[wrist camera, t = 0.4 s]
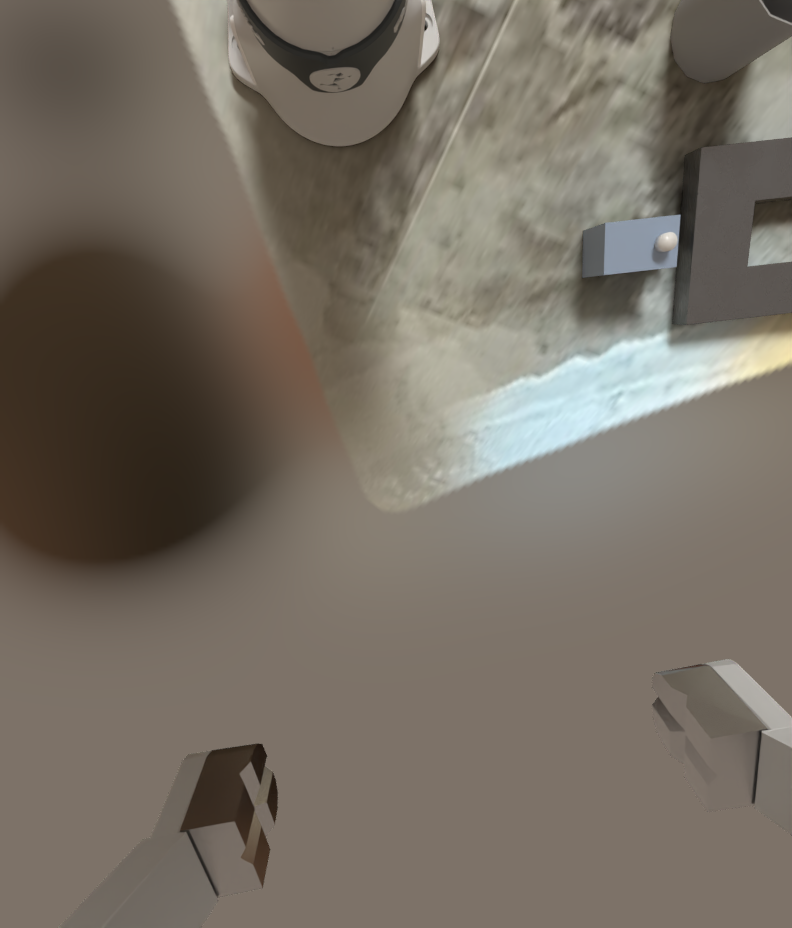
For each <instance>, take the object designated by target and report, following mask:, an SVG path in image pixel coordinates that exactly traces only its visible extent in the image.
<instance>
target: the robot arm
mask: <svg viewBox="0 0 792 928" xmlns="http://www.w3.org/2000/svg"><path fill="white" fill-rule="evenodd" d="M425 26H426V27H427V30H426V31H424V27H425ZM239 49H240V50H239ZM438 51H439V33H438V28H437V24H436V19H435V15H434V10H433V6H432V2H431V0H228V57H229V64H230V67H231V69H232V72H233V74H234V75H235V76H236V78H237V79H238V80H240V81H241V82H242V83H244V84H245V85H247V86H248V87H250V88H252V89H253V90H255V91H257V92H258V93H260V94H261V95H262V96H263V97H264V98H265V99H266V100H267V101H268V102H269V103H270V105H271V106H272V107H273V109H274V110H275V111H276V113H277V114H278V115H279V116H280V118H281V119H282V120H283V121H284V122H285V123H286V124H287V125H288V126H289V127H291V128H292V129H293V130H294V131H296V132H297V133H299V134H300V135H302V136H303V137H305V138H307V139H309V140H311V141H314V142H317V143H320V144H324V145H329V146H349V145H354V144H358V143H361V142H363V141H366V140H368V139H370V138H372V137H373V136H375V135H377V134H378V133H379V132H381V131H382V130H383V129H384V128H385V127H387V125H388V124H389V123H390V122H391V121H392V120H393V119H394V118H395V116H396V115H397V113H398V112H399V110H400V109H401V107H402V105H403V103H404V101H405V99H406V97H407V95H408V93H409V90H410V88H411V86H412V84H413V82H414V80H415V79H416V77H417V76H418V75H419V74H420V73H421V72H422V71H423V70H424V69H426V68H427V67H428V66H429V64H430V63H431V62H432V61H433V60H434V59H435V57H436V56H437V53H438ZM652 688H653V689H654V691H655V693H656V694H657V695H658V698H657V699H656V700H655V702H654V703H653V704H652V713H653V720H654V724H655V727H656V731H657V733H658V736H659V738H660V740H661V741H662V744H663V745H664V747H665V749H666V750H667V752H668V753H669V755H670V756H671V757H673V758H674V759H676V760H678V761H679V762H681V763H682V764H684V778H685V780H686V781H687V783H688V784H689V785H690V787H691V788H692V790H693V792H694V793H695V795H696V796H697V798H698V799H699V801H700V802H701V804H702V805H703V807H704V808H705V810H706V811H707V812H711V811H718V810H726V809H733V808H740V807H746V806H754V805H755V807H754V808H755V809H756V810H757V811H759V812H760V813H762V814H763V815H764V816H766V817H767V818H768V819H770V820H771V821H773V822H774V823H775V824H777V825H778V826H779V827H781V828H782V829H784V830H785V831H786V832H788V833H789V834H790V835H792V717H791V716H790V715H789V714H788V713H787V712H786V711H785V710H784V709H783V708H782V707H781V706H780V705H779V704H778V703H777V702H776V701H775V700H774V699H773V698H772V697H771V696H770V695H769V694H767V692H766V691H764V689H762V687H760V686H759V685H758V684H757V683H756V682H755V681H754V680H753V679H752V678H751V677H750V676H749V675H748V674H747V673H746V672H745V671H744V670H743V669H742V668H741V667H740V666H739V665H738V664H737V663H736V662H734V661H732V660H730V659H727V660H721V661H716V662H710V663H705V664H698V665H693V666H688V667H682V668H677V669H672V670H666V671H661V672H656V673H654V675H653V677H652ZM266 758H267V754H266V752H265V749H264V747H263V744H251V745H244V746H238V747H231V748H224V749H217V750H212V751H206V752H200V753H193V754H188V755H187V756H186V758H185V759H184V760H183V761H182V762H181V765H180V767H179V769H178V772H177V774H176V777H175V779H174V781H173V784H172V786H171V789H170V791H169V793H168V796H167V799H166V801H165V803H164V805H163V808H162V810H161V812H160V815H159V817H158V820H157V822H156V824H155V827H154V829H153V832H152V834H151V836H150V838H146V839H142V840H141V841H140V843H138V844H137V845H136V847H134V849H133V850H132V851H131V852H130V853H129V854H128V855H127V856H126V857H125V858H124V859H123V860H122V861H121V862H120V863H119V864H118V865H117V866H116V867H115V868H114V870H113V871H112V872H111V873H110V874H109V875H108V876H107V877H106V878H105V879H104V880H103V881H102V882H101V883H100V884H99V885H98V887H96V888H95V889H94V891H93V892H92V893H91V894H90V895H89V896H88V897H87V898H86V899H85V900H84V901H83V902H82V903H81V904H80V905H79V906H78V908H76V910H75V911H74V912H73V913H72V914H71V915H70V916H69V917H68V918H67V919H66V920H65V921H64V922H63V923H62V924H61V925H60V926H59V927H58V928H201V927H202V925H203V924H204V923H205V921H206V920H207V918H208V916H209V915H210V913H211V912H212V910H213V909H214V907H215V905H216V904H217V902H218V897H223V896H228V895H233V894H238V893H243V892H248V891H252V890H257V889H262V888H263V885H264V879H265V874H266V869H267V864H268V858H269V853H270V847H269V844H268V842H267V839H266V836H267V835H268V833H269V832H270V831H271V829H272V828H273V827H274V825H275V820H276V815H277V809H278V806H277V805H278V790H277V785H276V779H275V776H274V773H273V771H271V770H270V769H268V768H267V767H265V763H266Z"/></svg>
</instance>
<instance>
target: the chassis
mask: <svg viewBox="0 0 792 928" xmlns="http://www.w3.org/2000/svg"><path fill="white" fill-rule="evenodd" d="M791 199H792V138H783V139H774V140H765V141H756V142H747V143H738V144H729V145H720V146H711V147H702V148H700V149H697V150H695V151H693V152H691V153H689V154H687V155H685V164H684V177H683V190H682V203H681V216H680V230H679V243H678V256H677V269H676V282H675V295H674V308H673V322H672V324H684V325H688V324H697V323H705V322H714V321H723V320H732V319H741V318H750V317H758V316H767V315H776V314H785V313H792V262H785V263H776V264H767V265H758V266H749V267H747V265H748V256H749V248H750V240H751V231H752V223H753V215H754V206H755V203H764V202H773V201H782V200H791Z"/></svg>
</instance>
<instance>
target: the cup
mask: <svg viewBox="0 0 792 928" xmlns="http://www.w3.org/2000/svg"><path fill="white" fill-rule="evenodd" d="M791 36H792V0H681V2H680V4H679V6H678V7H677V9H676V11H675V14H674V20H673V25H672V30H671V36H670V38H671V44H672V49H673V55H674V60H675V61H676V63H677V64H678V65H679V67H680V68H681V69H682V71H683V72H684V73H685V75H686V76H687V77H690V78H692V79H695V80H697V81H700V82H702V83H708V82H713V81H719V80H724V79H726V78H727V77H729V76H730V75H732V74H733V73H735V72H736V71H738V70H740V69H741V68H743V67H744V66H746V65H747V64H749V63H751V62H752V61H754V60H755V59H757V58H758V57H760V56H762V55H763V54H765V53H766V52H768V51H769V50H771V49H772V48H774V47H776V46H777V45H779V44H780V43H782V42H783V41H785V40H787V39H788V38H790V37H791Z"/></svg>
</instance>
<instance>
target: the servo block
mask: <svg viewBox="0 0 792 928" xmlns="http://www.w3.org/2000/svg"><path fill="white" fill-rule="evenodd" d="M679 229H680V215H673V216H664V217H655V218H646V219H637V220H628V221H619V222H610V223H604V224H601V225H598V226H595V227H593V228H590V229H587V230H584V231H583V269H582V278H584V277H593V276H602V275H611V274H620V273H629V272H638V271H647V270H655V269H663V268H672V267H677V255H678V242H679Z"/></svg>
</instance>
